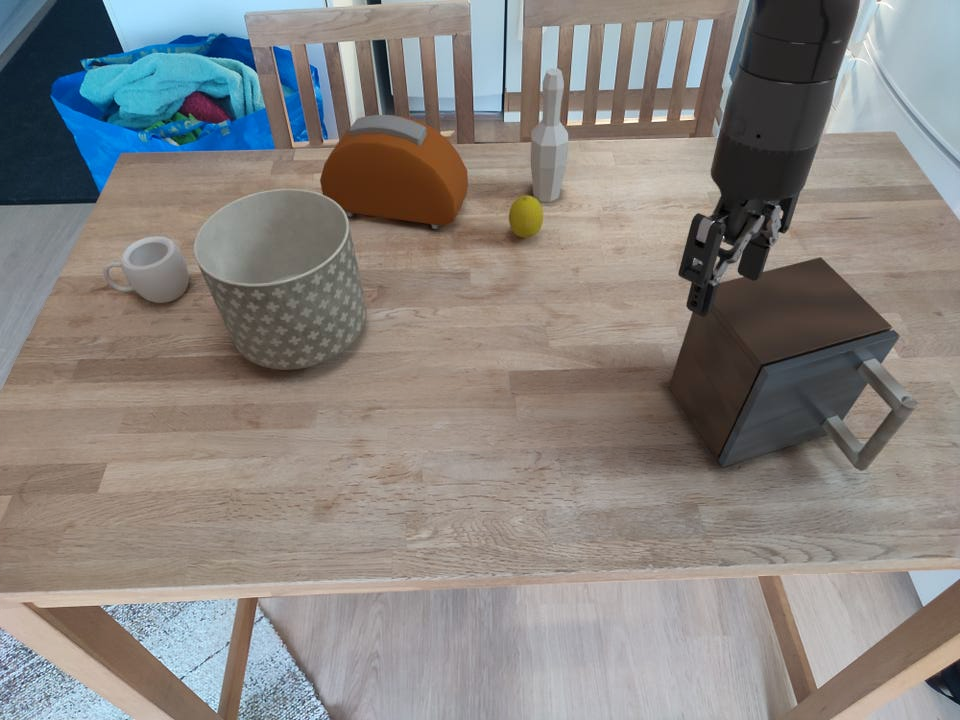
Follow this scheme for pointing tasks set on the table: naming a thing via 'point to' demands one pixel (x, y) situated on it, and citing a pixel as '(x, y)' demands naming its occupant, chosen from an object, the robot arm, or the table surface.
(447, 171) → the orange toaster
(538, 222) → the lemon
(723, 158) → the robot arm
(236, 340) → the planter
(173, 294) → the mug
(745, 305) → the cupboard
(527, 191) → the table surface
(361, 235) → the table surface
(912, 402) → the door
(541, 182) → the low poly bottle
